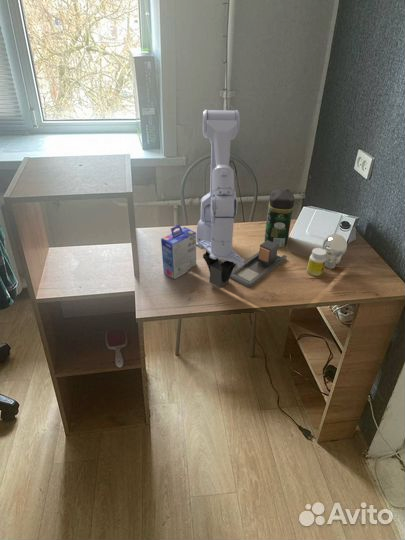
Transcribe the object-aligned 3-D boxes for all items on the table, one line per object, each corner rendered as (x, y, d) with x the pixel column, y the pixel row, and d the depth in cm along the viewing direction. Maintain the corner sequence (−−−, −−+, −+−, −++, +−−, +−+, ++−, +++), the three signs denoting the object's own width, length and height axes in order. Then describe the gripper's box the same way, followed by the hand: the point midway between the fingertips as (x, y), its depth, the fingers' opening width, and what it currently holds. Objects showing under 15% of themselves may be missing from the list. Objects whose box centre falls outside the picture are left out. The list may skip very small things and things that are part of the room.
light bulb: (313, 268, 122) (320, 235, 115) (324, 259, 127) (332, 227, 120) (333, 278, 119) (342, 244, 112) (344, 268, 123) (353, 235, 116)
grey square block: (209, 282, 114) (210, 265, 110) (219, 275, 117) (220, 258, 113) (220, 288, 112) (221, 271, 108) (230, 281, 114) (231, 264, 111)
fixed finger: (257, 261, 123) (259, 245, 120) (265, 256, 126) (267, 240, 122) (267, 266, 121) (270, 250, 117) (275, 260, 124) (278, 244, 120)
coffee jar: (264, 234, 139) (270, 185, 128) (286, 236, 138) (295, 187, 128) (263, 248, 131) (270, 197, 121) (287, 251, 131) (296, 199, 120)
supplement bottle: (322, 280, 118) (328, 256, 113) (306, 277, 118) (311, 254, 114) (321, 271, 122) (327, 248, 117) (306, 269, 122) (310, 246, 117)
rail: (227, 279, 117) (228, 273, 116) (264, 252, 129) (265, 246, 128) (249, 290, 113) (250, 284, 111) (285, 261, 125) (286, 256, 124)
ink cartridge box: (184, 259, 125) (184, 219, 117) (197, 266, 122) (198, 225, 114) (161, 272, 119) (159, 230, 111) (174, 280, 116) (173, 238, 108)
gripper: (191, 232, 106) (191, 273, 114) (234, 253, 99) (230, 294, 107) (208, 223, 111) (207, 263, 119) (250, 242, 103) (246, 283, 111)
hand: (219, 277), depth 113 cm, fingers closed on grey square block, 4 cm apart
